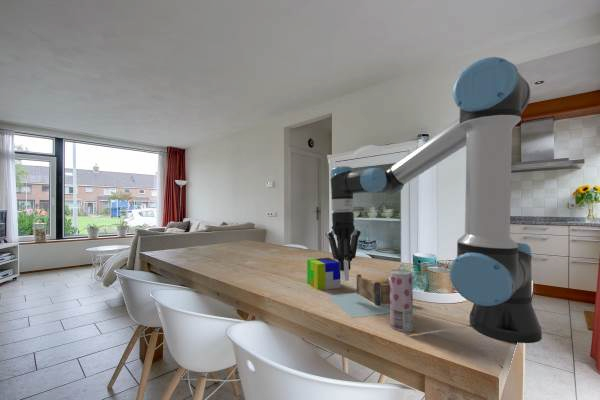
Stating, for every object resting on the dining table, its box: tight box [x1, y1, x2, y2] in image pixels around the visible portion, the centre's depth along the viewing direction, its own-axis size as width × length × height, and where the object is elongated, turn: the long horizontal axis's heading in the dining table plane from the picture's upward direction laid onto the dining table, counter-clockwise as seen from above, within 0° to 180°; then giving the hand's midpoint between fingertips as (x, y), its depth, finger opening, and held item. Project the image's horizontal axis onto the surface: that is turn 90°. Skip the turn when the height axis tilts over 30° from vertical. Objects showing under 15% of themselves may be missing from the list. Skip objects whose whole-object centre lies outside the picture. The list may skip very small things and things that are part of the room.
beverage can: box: [389, 268, 414, 333], centre depth 74 cm, size 6×6×15 cm
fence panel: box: [356, 273, 381, 306], centre depth 95 cm, size 13×2×7 cm, turn 19°
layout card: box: [327, 292, 418, 319], centre depth 92 cm, size 20×22×1 cm
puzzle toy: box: [306, 257, 342, 291], centre depth 113 cm, size 10×10×10 cm
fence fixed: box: [380, 282, 390, 304], centre depth 91 cm, size 8×2×7 cm, turn 105°
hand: (345, 279), depth 96 cm, fingers closed
